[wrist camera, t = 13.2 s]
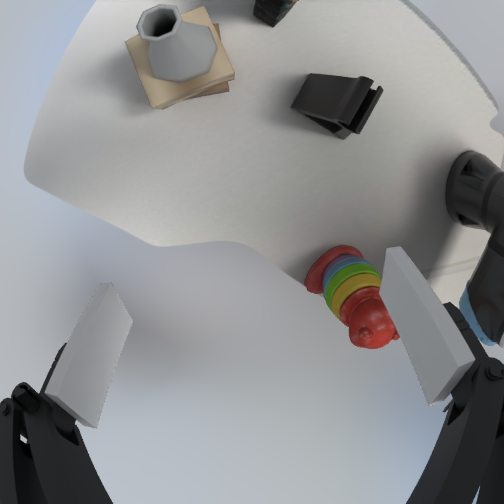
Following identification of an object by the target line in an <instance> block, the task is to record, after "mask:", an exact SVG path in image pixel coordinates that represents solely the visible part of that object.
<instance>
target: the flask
mask: <svg viewBox="0 0 504 504" xmlns="http://www.w3.org/2000/svg"><path fill="white" fill-rule="evenodd" d="M136 27H137V29H138V32H139V35H140V38H141V40H146V41H150V45H149V50H148V55H147V57H148V60H149V63H150V65H151V68H152V71H153V73H154V76H155V78H156V79H162V80H168V81H173V82H178V83H183V82H186V81H188V80H191V79H193V78H196V77H198V76H201V75H204V74H206V73H209V71H210V68H211V65H212V63H213V60H214V57H215V55H216V52H217V50H218V47H217V45H216V42H215V40H214V37H213V35H212V32H211V30H210V27H209V26H204V25H199V24H193V23H188V22H184V21H183V20H182V18H181V15H180V13H179V10H178V8H177V6H172V5H161V4H159V5H157V6H155V7H152V8H150V9H148V10H146V11H144V12H143V13H142V15H141V17H140V19H139V22H138V24H137V26H136Z"/></svg>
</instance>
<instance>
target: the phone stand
mask: <svg viewBox="0 0 504 504" xmlns="http://www.w3.org/2000/svg"><path fill="white" fill-rule="evenodd" d="M373 82H374V81H373V80H372V79H369V78H367V77H364V76H360V77H358V78H349V77H342V76H334V75H324V74H312V73H311V74H310V75H309V77H308V79H307V80H306V82H305V84H304V85H303V87H302V89H301V91H300V92H299V94H298V96H297V97H296V99H295V101H294V103H293V104H292V106H291V108H292V109H294V110H296V111H298V112H299V113H301V114H303V115H305V116H306V117H308V118H310V119H311V120H313V121H315V122H316V123H318V124H320V125H321V126H323V127H324V128H326V129H328V130H329V131H331V132H332V133H334V134H335V135H337V136H339V137H340V138H342V139H343V140H344V139H345V138H346V137H347V136H349V135H350V134H351V133H355V134H360V132H361V131H362V129H363V127H364V125H365V123H366V122H367V120H368V118H369V116H370V114H371V113H372V111H373V109H374V107H375V105H376V104H377V102H378V100H379V98H380V96H381V94H382V93H383V88H382V87H381V86H378V88H377V90H373V89H371V88H370V87H371V85H372V84H373Z"/></svg>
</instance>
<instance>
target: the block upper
mask: <svg viewBox="0 0 504 504" xmlns="http://www.w3.org/2000/svg"><path fill="white" fill-rule="evenodd" d="M181 18H182V20H183V21H184V22H188V23H193V24H199V25H204V26H209V27H210V30H211V32H212V35H213V37H214V40H215V42H216V45H217V47H218V50H217V52H216V55H215V57H214V60H213V63H212V65H211V68H210V71H209V73H206V74H204V75H201V76H198V77H196V78H193V79H191V80H188V81H186V82H183V83H178V82H173V81H168V80H162V79H156V78H155V76H154V73H153V71H152V68H151V65H150V63H149V60H148V57H147V55H148V50H149V45H150V41H146V40H141V38H140V35H139V34H138V35H136V36H134V37H133V38H131V39H129V40H127V41H125V43H126V46H127V48H128V51H129V53H130V56H131V58H132V61H133V63H134V66H135V68H136V70H137V73H138V75H139V78H140V80H141V82H142V85H143V87H144V89H145V92H146V94H147V96H148V99H149V101H150V103H151V106H152V108H157V109H165V108H167V107H169V106H171V105H173V104H176V103H178V102H180V101H182V100H184V99H186V98H189V97H191V96H193V95H196V94H198V93H200V92H203V91H205V90H207V89H210V88H212V87H215V86H217V85H220V84H223V83H225V82H228V81H231V80H234V75H235V72H234V70H233V67H232V65H231V63H230V60H229V58H228V56H227V54H226V52H225V49H224V47H223V45H222V43H221V41H220V38H219V36H218V34H217V32H216V30H215V28H214V25H213V23H212V21H211V19H210V17H209V15H208V13H207V11H206V9H205V7H204V6H202V7H199V8H196V9H194V10H191V11H188V12H186V13H183V14H181Z"/></svg>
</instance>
